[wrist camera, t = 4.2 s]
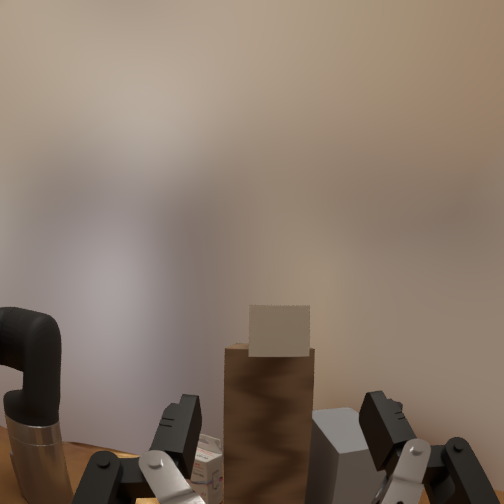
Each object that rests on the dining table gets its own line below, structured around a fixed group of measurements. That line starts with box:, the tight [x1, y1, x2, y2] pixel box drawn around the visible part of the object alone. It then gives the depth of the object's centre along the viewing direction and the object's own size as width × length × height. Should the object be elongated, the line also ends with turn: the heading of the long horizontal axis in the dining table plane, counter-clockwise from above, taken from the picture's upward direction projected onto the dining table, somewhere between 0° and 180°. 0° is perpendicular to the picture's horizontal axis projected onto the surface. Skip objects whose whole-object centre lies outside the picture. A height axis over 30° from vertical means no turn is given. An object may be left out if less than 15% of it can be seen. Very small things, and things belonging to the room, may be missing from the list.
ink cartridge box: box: [185, 434, 223, 504], centre depth 37 cm, size 9×5×15 cm, turn 62°
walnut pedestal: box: [224, 343, 315, 504], centre depth 28 cm, size 8×18×32 cm, turn 0°
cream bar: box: [248, 305, 310, 357], centre depth 28 cm, size 4×26×3 cm, turn 0°
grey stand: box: [304, 407, 386, 504], centre depth 26 cm, size 7×18×21 cm, turn 0°
